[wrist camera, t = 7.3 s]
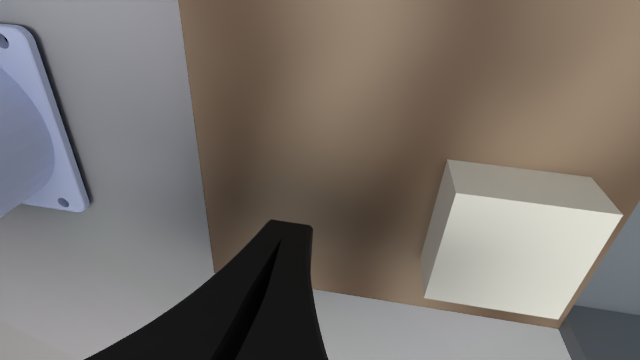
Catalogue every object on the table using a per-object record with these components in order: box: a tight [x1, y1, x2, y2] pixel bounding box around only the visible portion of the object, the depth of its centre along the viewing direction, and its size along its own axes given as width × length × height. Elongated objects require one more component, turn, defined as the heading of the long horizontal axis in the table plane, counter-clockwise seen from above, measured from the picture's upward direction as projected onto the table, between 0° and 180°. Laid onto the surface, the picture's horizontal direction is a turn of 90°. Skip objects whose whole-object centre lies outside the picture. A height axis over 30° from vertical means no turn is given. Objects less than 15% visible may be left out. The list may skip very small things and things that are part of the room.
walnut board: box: [178, 0, 640, 329], centre depth 12 cm, size 15×18×1 cm
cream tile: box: [420, 159, 623, 320], centre depth 13 cm, size 4×4×2 cm
